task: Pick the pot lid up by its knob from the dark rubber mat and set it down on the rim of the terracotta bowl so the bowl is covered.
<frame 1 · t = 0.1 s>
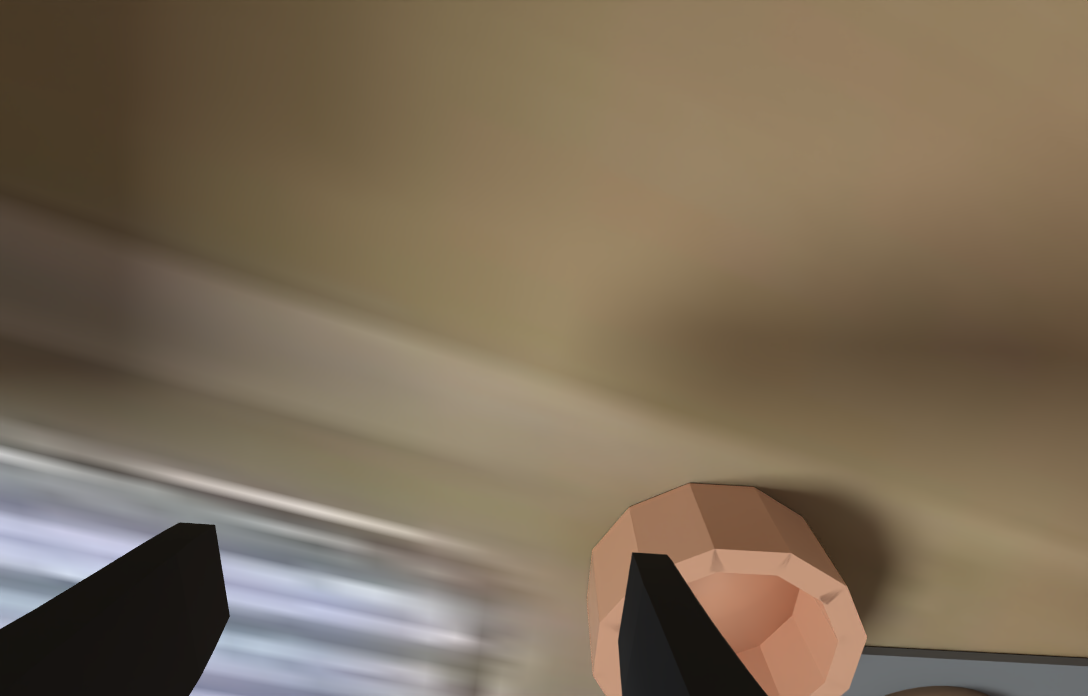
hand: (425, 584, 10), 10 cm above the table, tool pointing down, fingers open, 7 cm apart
bowl: (701, 580, 23), on the table
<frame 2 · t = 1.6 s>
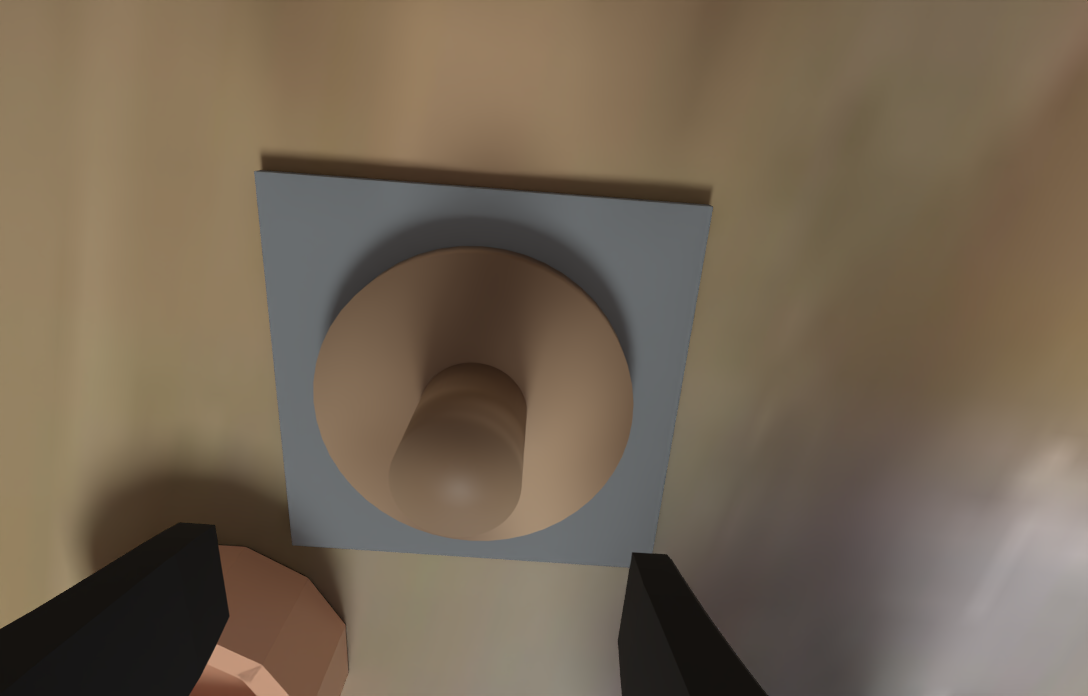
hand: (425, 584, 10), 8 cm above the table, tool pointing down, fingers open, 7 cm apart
mat: (479, 390, 18), on the table
lid: (477, 396, 17), resting on mat
bowl: (226, 641, 21), on the table
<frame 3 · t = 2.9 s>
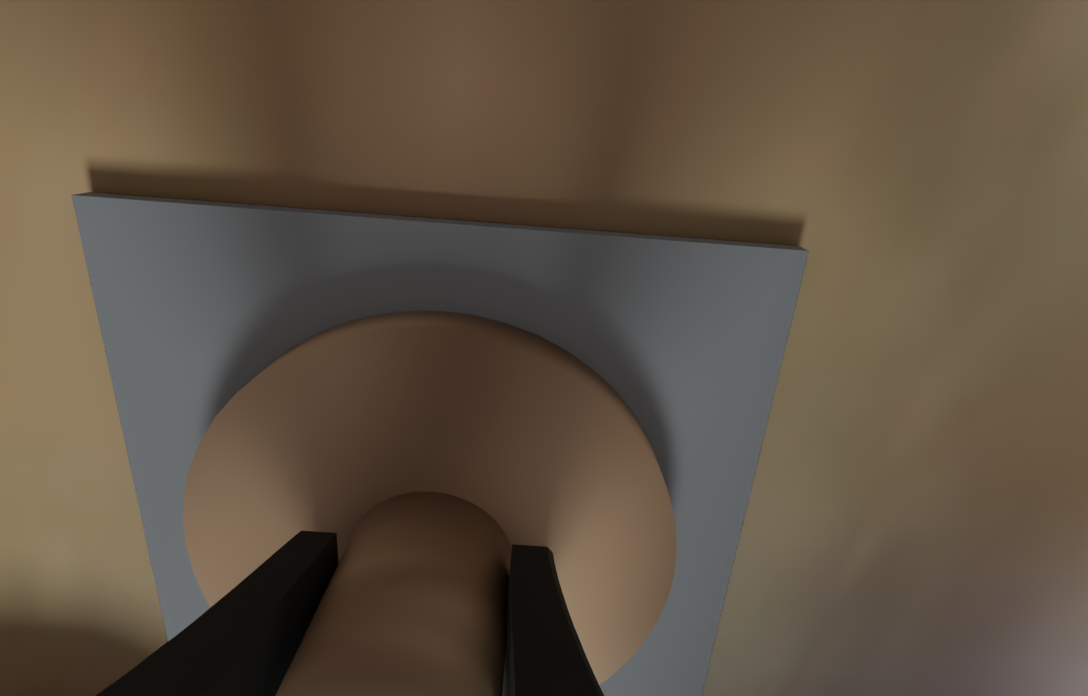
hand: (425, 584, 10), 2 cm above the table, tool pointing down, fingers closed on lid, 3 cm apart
mat: (444, 512, 12), on the table
lid: (441, 524, 12), resting on mat, touching gripper
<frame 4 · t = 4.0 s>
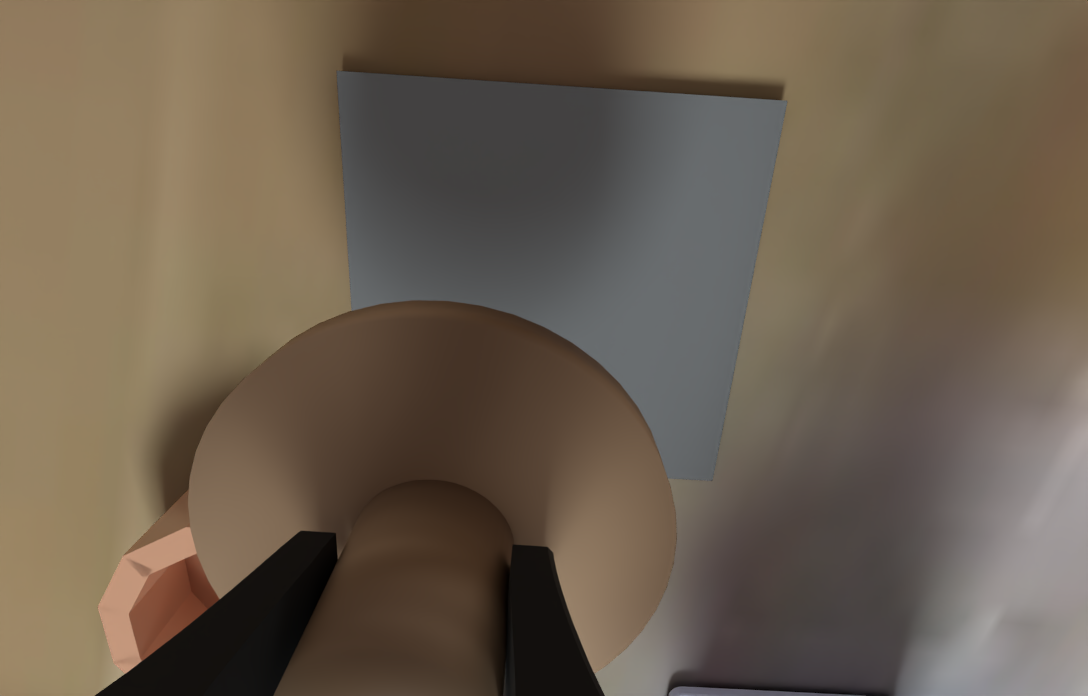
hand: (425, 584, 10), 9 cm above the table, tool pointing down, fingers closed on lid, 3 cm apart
mat: (548, 298, 18), on the table
lid: (443, 512, 12), point 8 cm above the table, touching gripper
bowl: (291, 564, 22), on the table
when the fingers open (6 cm above the table, at t = 5.4 s): lid stays where it is, resting on bowl.
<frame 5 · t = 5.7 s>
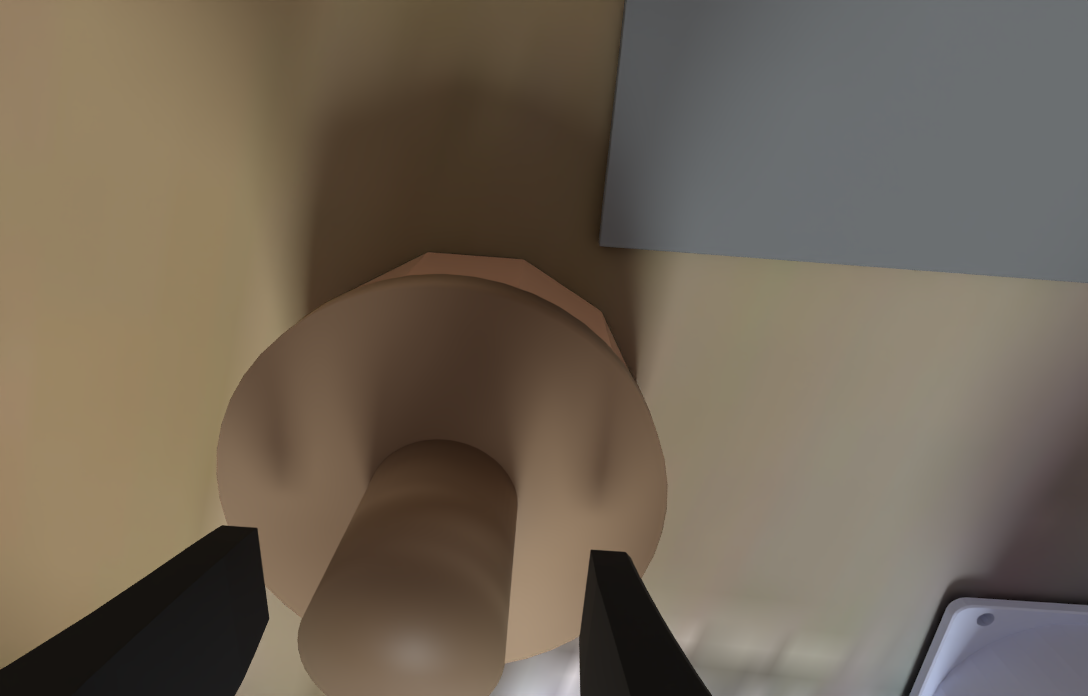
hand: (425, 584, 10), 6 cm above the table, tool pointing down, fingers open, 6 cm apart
lid: (451, 476, 13), point 3 cm above the table, touching bowl
bowl: (470, 414, 16), on the table
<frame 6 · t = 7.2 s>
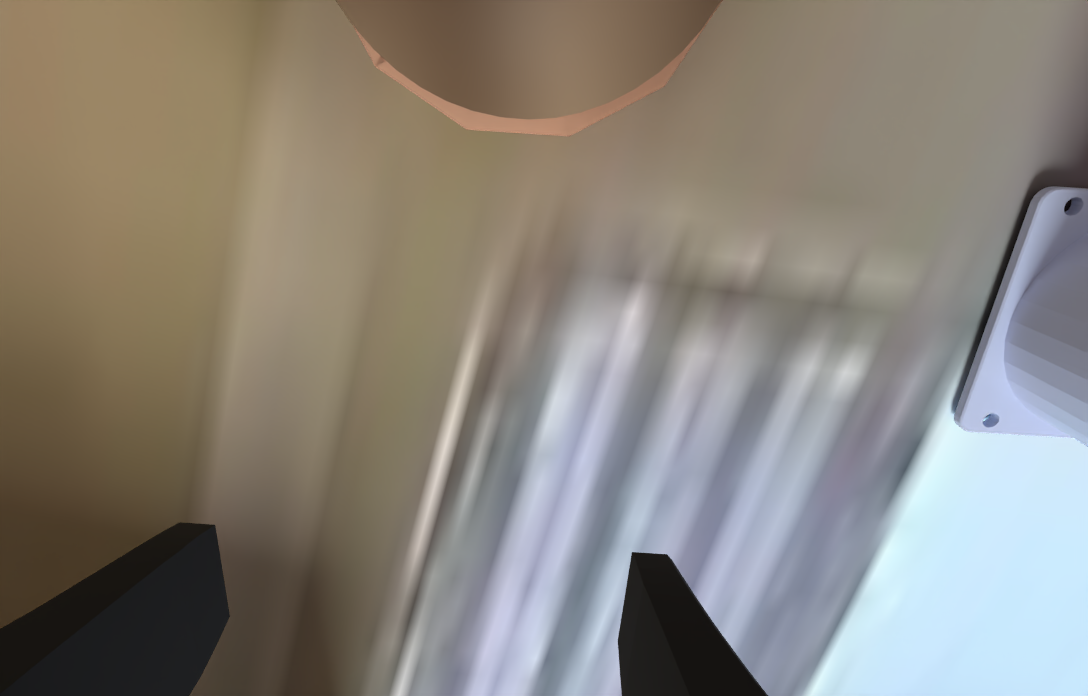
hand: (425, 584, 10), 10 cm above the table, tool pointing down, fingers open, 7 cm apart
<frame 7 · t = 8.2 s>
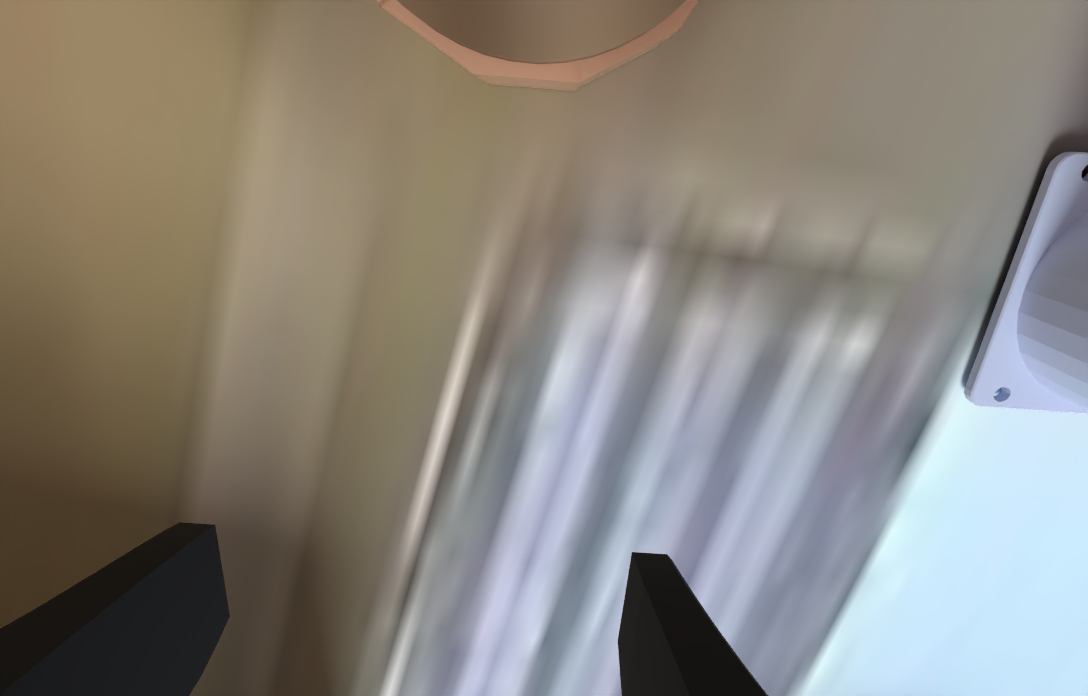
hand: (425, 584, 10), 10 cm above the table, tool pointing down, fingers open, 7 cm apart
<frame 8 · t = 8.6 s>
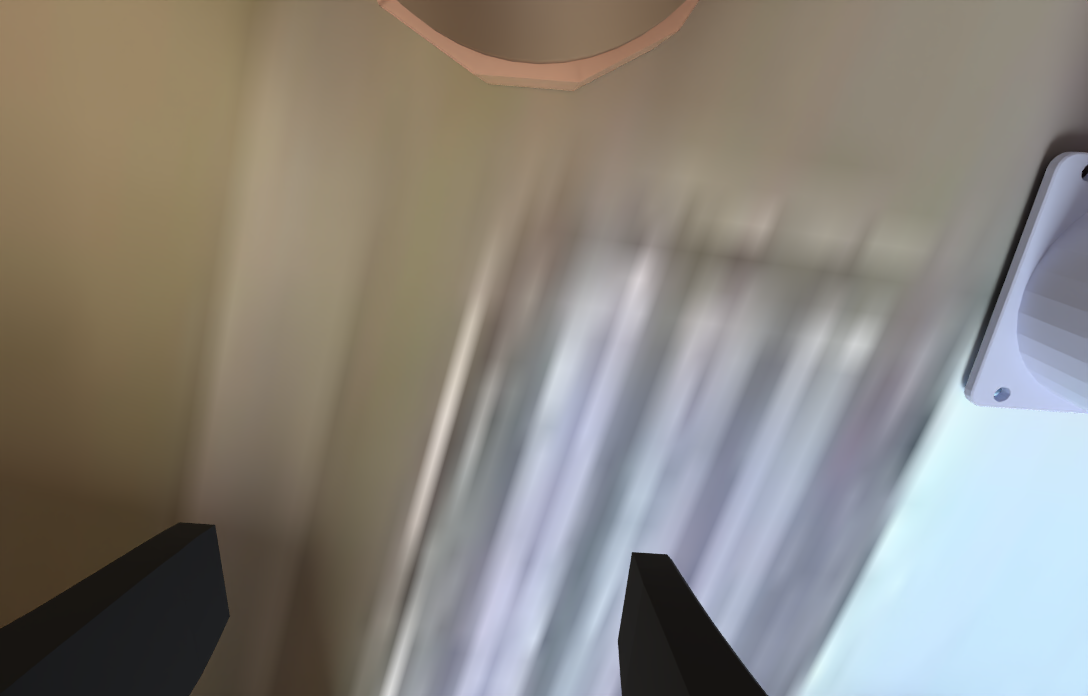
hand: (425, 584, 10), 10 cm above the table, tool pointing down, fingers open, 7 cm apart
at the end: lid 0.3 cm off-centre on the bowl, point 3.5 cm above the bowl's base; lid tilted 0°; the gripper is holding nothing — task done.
